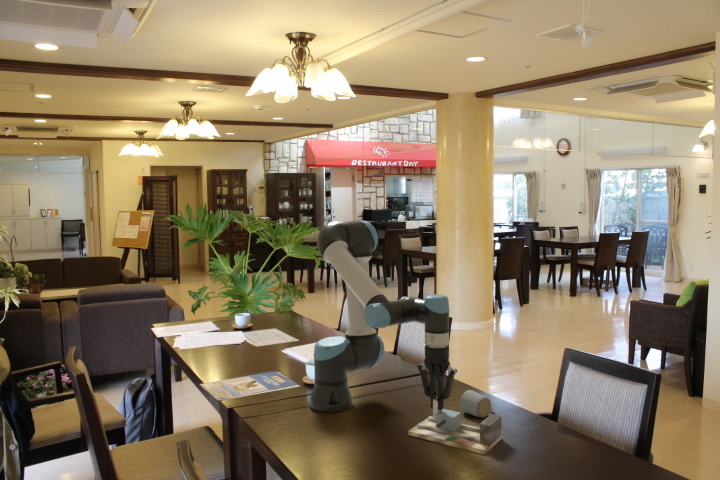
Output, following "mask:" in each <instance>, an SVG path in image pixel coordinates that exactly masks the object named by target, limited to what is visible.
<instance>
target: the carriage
mask: <svg viewBox="0 0 720 480" xmlns="http://www.w3.org/2000/svg"><path fill="white" fill-rule="evenodd" d="M461 414H462V413H461V412H459V411H456V410H451V409H446V408H443V409H442V410H441V411H439V412H438V413H436V427H437V428H441V429H445V430H449V431H453V432H457V431H458V430H459V429H460V428H461V424H462V422H461V419H462V418H461Z"/></svg>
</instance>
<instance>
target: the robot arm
mask: <svg viewBox="0 0 720 480" xmlns="http://www.w3.org/2000/svg"><path fill="white" fill-rule="evenodd" d="M378 237H379V235H378V232H377V230H376V228H375V226H373V225H372V223H370V222H369V221H366V220H357V219H356V220H345V221H343V220H342V221H330V222H328V223H326V224H325V225H323V227H322V228H321V229H320V230H319V233H318V235H317V238H316V239H317V240H316V245H317V249H318V254H320V256H321V258H322V259H323V260H324V262H326V263H328V264H330V265H331V266H332V267H333V268H334V270H335V271H336V272H337V274H338V275H339V276H340V278H341V280H342V281H344V284H345V285H346V287H345V288H346V301H347V317H348V319H347V320H348V329H347V330H346V331H345V332H344V336H340V335H338V336H337V335H334V336H328V337H327V336H326V337H324V338H321V339H319V340H318V341H316V343H315V344H314V349H313V350H314V351H313V360H314V364H313V365H314V366H313V367H314V368H313V369H314V384H313V385H314V386H313V387H312V388H313V389H312V392H311V394H310V395H311V396H310V399H309V406H310V408H311V409H312V410H314V411H316V412H320V413H321V412H322V413H339V412H344V411H346V410H349V409H351V408H353V405H354V404H353V403H354V402H353V401H354V397H353V396H352V392H351V390H350V386H349V381H348V376H349V375H348V374H349V373H352V372H357V371H362V370H368V369H371V368H374V367H377V366H378V365H379V364H381V362H382V360H383V358H384V356H385V345H384V341H383V339H382V338H381V336H380V335H378V334H377V333H378V331H377V329H383V328H387V327H392V326H396V325H398V326H399V325H403V324H408V323H414V322H415V323H420V324H424V344H425V346H424V360H423V362H422V363H420V364H418V365H417V369H418V372H419V374H420V379H421V382H422V383H421V384H422V386H423V387H422V389H423V392H424V396H426V397H429V398H430V408H431V409H432V417H433V420H435V421H436V413H438V412H439V411H441V410H442V409H445V407H444V406H445V405H444V400H445V401H446V400H447V399H448V398H450V396H451V391H452V388H453V387H452V386H453V383H454V378H455V376H456V374H457V373H458V370H457V368H453V367H452V366H451V363H450V346H449V345H450V302H449V300H450V299H449V297H448V296H447V295H443V294H427V295H425V296H424V299H423V298H418V297H414V296H402V297H400V298H399V299H397V300H389V299H388V298H387V296H386V295H385V294H384V293H383V292H382V290H381V289H380V288H379V287H378V285H377V284H376V283H375V281H374V280H373V279H372V278H371V276H370V269H369V264H370V263H369V261H370V260H372V258H373V252H374V251H375V250H376V249H377V246H378V244H379V238H378ZM446 372H447V376H446ZM445 377H446V381H445Z"/></svg>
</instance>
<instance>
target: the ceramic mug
mask: <svg viewBox="0 0 720 480" xmlns="http://www.w3.org/2000/svg"><path fill="white" fill-rule="evenodd" d="M459 406H460V410H461V411H462V412H463V413H466V414H468V415H471V416H473V417H477V418H481V419H484V418H487V416H488V415H489V414H490V413H493V411H494V408H493V407H492V403H491V400H490V399H489V397H488V396H485V395H484V394H481V393H479V392H477V391H474V390H472V389H468V390H465V391H464V392H463V393H462V395H461V396H460V402H459Z"/></svg>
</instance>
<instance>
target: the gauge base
mask: <svg viewBox="0 0 720 480" xmlns="http://www.w3.org/2000/svg"><path fill="white" fill-rule="evenodd" d="M407 435H408V436H411V437H415V438H417V439H418V438H419V439H423V440H427V441H431V442H434V443H438V444H442V445H445V446H450V447H453V448H458V449H462V450H464V451H465V450H466V451H468V452H469V451H470V452H473V453H478V454H479V455H480V454H481V455H486V454H487V453H489V451H491V449H493V448H494V447H495V446H496V445H497V444H498V443H499V442H500V441H501V440H502V439H503V438H502V437H503V436H502V415H498V414H493V413H491V414H490V415H489V416H488V417H487V416H486V417H485V419H483V420H482V421H481V422H480V423H479V427H478V426H473V425H468V424H464V423H461V428H460V429H459V430H458V431H457V432H453V431H449V430H445V429H441V428H437V427H436V421H435V420H433V416H430V415H429V416H428V417H427V418H426V419H424V420H423V421H421V422H418V424H416V425H414V426H413V427H412V428H410V429H409V430H407Z"/></svg>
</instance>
